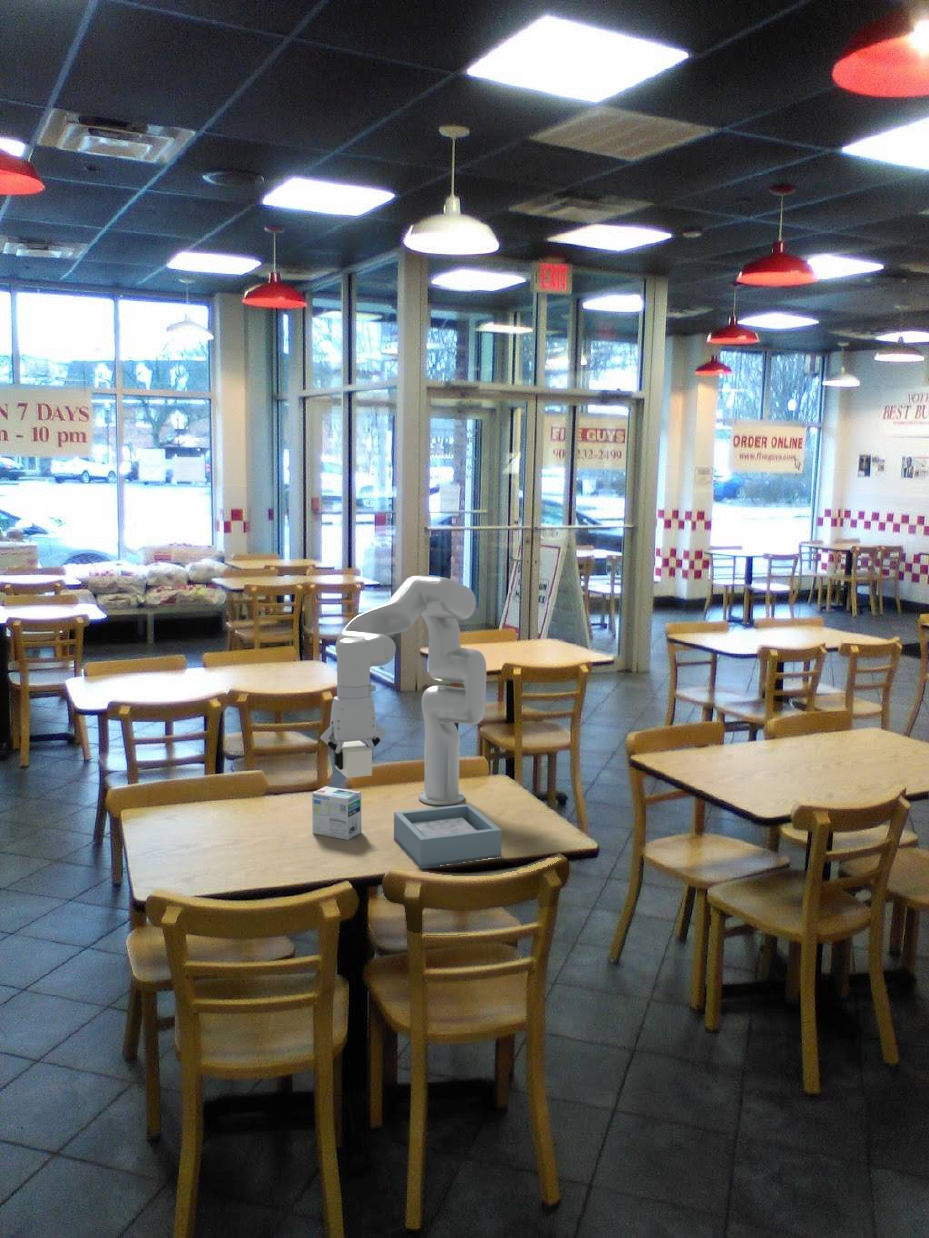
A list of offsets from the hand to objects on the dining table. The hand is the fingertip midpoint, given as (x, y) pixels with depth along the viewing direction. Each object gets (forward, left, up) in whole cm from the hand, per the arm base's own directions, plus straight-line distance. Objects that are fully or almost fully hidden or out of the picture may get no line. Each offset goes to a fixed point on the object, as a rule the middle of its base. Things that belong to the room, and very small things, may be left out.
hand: (353, 766), depth 250 cm
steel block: (+4, +22, -20) cm, 30 cm away
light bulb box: (-15, 0, -22) cm, 26 cm away
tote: (+4, +22, -21) cm, 31 cm away
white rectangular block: (0, 0, -1) cm, 1 cm away
